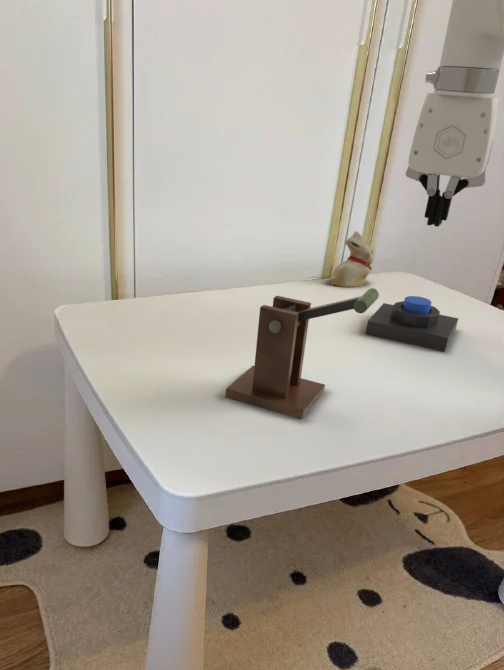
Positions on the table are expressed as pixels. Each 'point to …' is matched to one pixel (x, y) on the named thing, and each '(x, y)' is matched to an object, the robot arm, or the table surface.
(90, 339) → the table surface
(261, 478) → the table surface
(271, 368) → the lever bracket
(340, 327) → the table surface
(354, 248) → the chocolate bunny
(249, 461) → the table surface
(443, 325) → the button block
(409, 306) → the blue button
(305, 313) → the light lever
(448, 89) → the robot arm
